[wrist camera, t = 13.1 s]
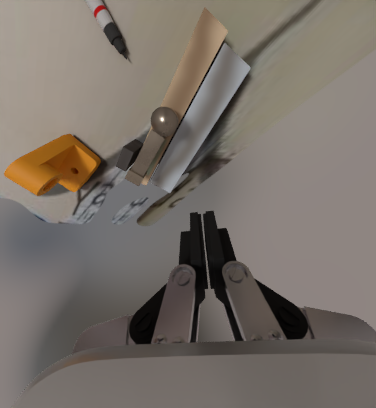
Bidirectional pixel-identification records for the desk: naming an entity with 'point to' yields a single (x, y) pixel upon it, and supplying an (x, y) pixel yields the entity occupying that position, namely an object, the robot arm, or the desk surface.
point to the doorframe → (201, 106)
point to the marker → (106, 24)
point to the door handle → (153, 142)
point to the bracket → (54, 166)
